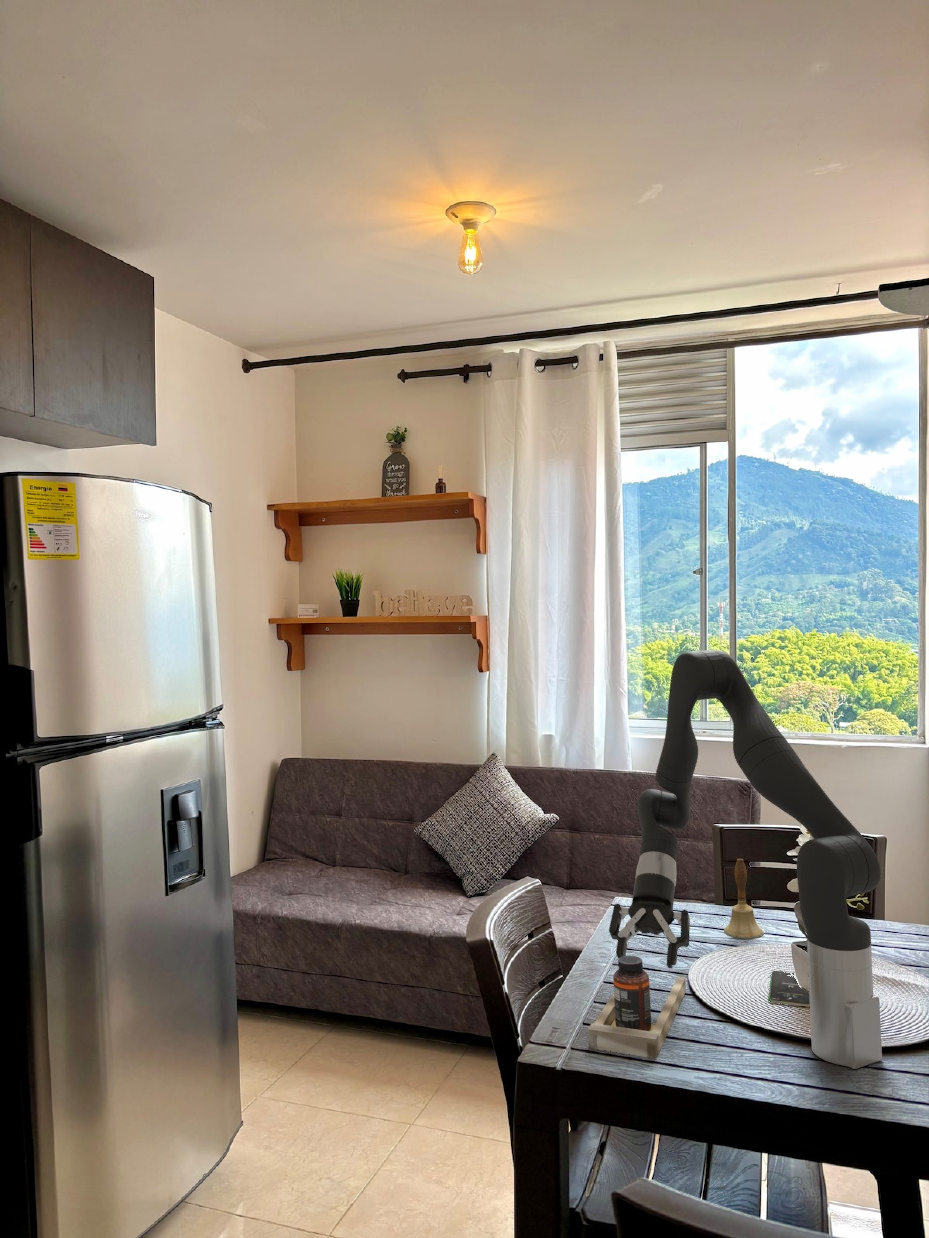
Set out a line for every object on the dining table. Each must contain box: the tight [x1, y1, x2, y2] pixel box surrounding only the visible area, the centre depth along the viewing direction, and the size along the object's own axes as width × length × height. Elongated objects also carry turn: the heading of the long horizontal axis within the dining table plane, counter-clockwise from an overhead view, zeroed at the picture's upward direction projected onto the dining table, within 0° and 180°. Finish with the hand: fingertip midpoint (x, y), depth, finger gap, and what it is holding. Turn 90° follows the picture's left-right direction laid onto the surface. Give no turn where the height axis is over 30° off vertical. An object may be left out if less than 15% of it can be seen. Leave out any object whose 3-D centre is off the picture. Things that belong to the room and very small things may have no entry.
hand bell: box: [723, 858, 764, 939], centre depth 192 cm, size 8×8×16 cm
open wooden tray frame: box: [587, 976, 687, 1060], centre depth 150 cm, size 28×11×3 cm, turn 157°
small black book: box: [767, 970, 810, 1008], centre depth 160 cm, size 8×1×15 cm
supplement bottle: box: [612, 955, 652, 1031], centre depth 146 cm, size 6×6×11 cm
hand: (645, 963), depth 156 cm, fingers open, 8 cm apart
